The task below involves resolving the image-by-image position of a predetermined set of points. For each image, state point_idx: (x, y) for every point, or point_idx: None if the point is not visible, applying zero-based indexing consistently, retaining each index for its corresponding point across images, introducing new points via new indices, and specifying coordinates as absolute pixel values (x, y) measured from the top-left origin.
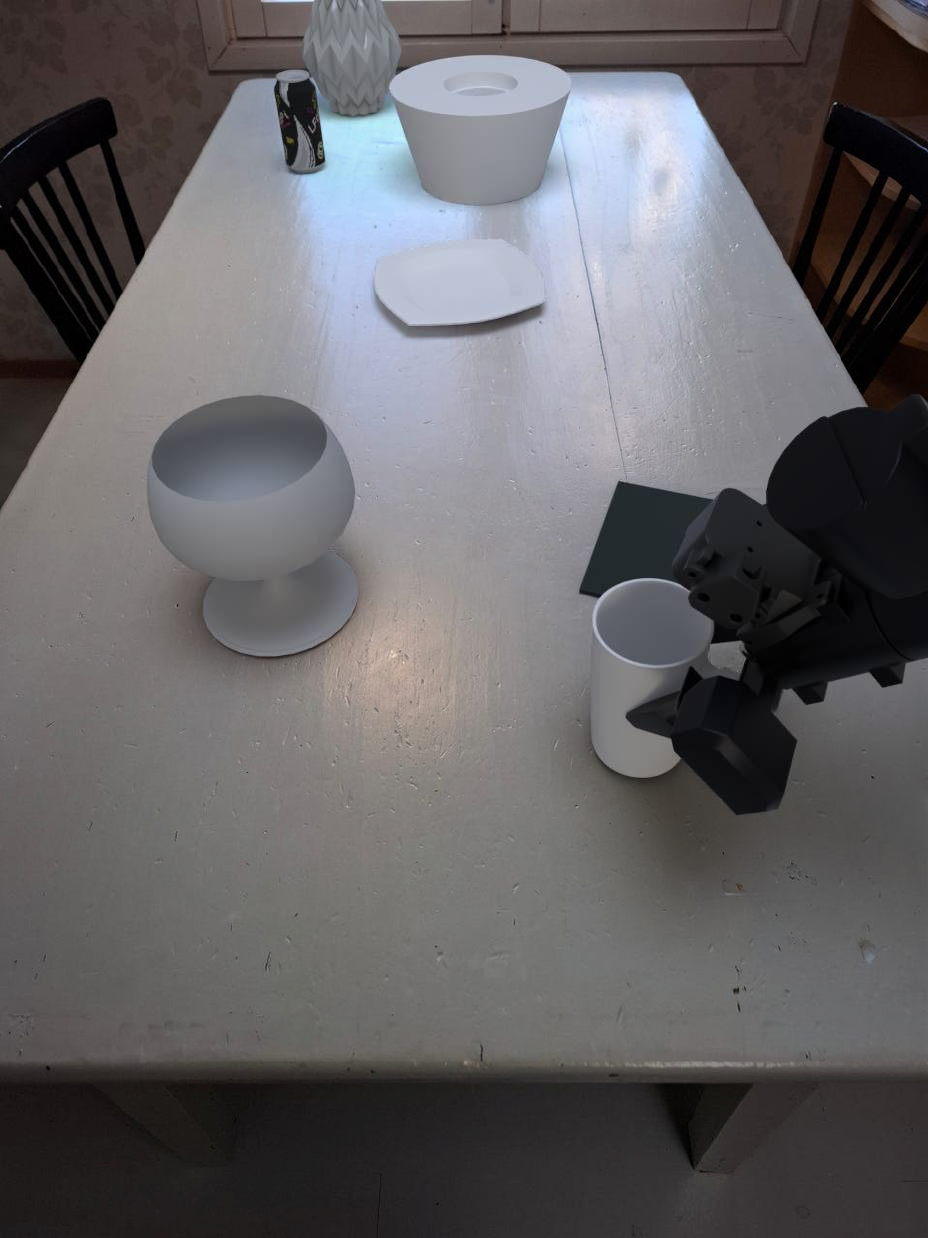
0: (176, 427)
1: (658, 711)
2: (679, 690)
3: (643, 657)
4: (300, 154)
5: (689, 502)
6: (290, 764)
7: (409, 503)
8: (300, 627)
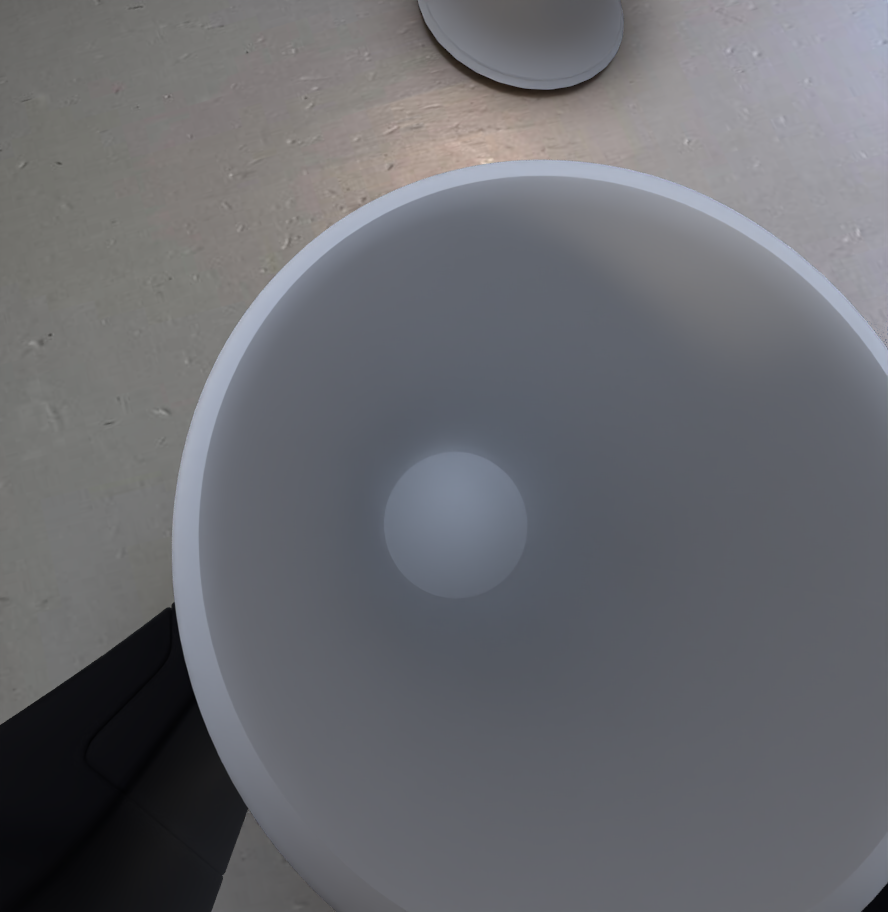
0: None
1: (148, 624)
2: (132, 769)
3: (571, 495)
4: None
5: None
6: (273, 94)
7: (750, 113)
8: (477, 27)
